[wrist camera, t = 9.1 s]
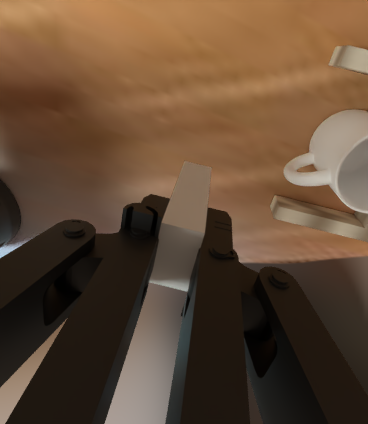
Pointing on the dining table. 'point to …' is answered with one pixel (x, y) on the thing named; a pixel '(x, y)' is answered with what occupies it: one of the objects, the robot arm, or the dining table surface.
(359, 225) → the dock
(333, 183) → the mug
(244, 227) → the dining table surface
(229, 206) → the dining table surface
